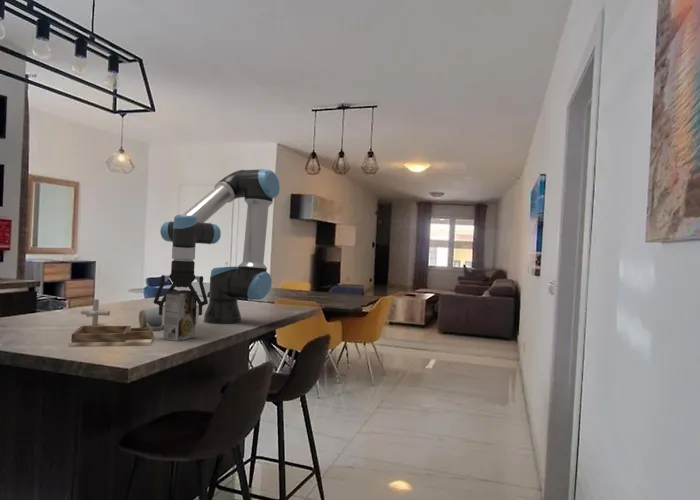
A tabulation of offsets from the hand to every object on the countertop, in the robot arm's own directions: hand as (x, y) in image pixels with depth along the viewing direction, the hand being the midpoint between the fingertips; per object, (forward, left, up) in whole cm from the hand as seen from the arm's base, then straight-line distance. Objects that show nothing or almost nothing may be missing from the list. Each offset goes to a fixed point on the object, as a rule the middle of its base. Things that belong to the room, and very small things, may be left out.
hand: (180, 324), depth 171 cm
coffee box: (0, 0, -5) cm, 5 cm away
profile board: (+20, +3, -5) cm, 21 cm away
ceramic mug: (+9, -20, -5) cm, 23 cm away
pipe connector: (+30, -25, -5) cm, 39 cm away
